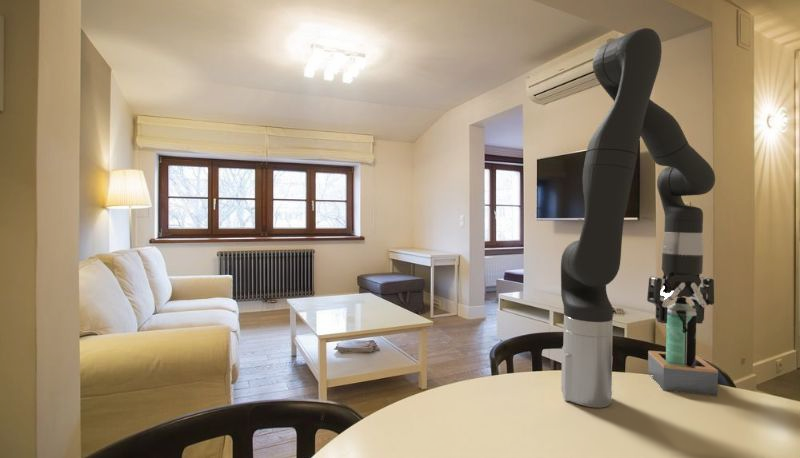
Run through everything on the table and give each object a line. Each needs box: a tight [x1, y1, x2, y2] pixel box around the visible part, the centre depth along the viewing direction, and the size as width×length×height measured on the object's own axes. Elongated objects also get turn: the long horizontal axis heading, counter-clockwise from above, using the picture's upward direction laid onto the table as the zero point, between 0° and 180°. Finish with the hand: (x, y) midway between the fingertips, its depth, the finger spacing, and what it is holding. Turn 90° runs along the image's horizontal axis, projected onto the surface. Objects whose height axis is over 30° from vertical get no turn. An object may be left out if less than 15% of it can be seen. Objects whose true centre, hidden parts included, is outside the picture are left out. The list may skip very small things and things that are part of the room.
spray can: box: [665, 296, 697, 366], centre depth 87 cm, size 6×6×20 cm
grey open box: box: [647, 350, 719, 397], centre depth 87 cm, size 10×10×6 cm
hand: (679, 322), depth 87 cm, fingers open, 8 cm apart
